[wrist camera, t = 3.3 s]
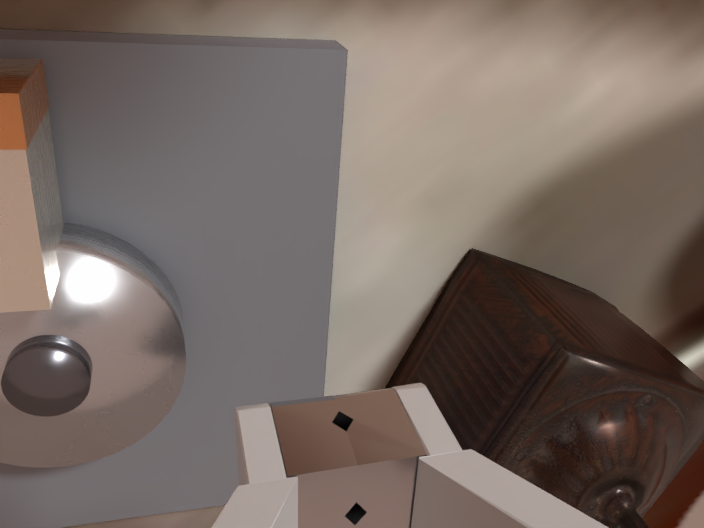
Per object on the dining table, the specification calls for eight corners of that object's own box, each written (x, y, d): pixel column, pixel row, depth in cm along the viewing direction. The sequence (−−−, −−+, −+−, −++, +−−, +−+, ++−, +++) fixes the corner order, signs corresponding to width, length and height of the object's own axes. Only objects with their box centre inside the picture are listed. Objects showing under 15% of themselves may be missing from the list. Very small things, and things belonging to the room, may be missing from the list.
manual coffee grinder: (369, 411, 37) (519, 773, 22) (469, 241, 33) (735, 531, 18) (573, 460, 43) (800, 766, 28) (676, 322, 40) (1001, 587, 24)
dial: (188, 415, 31) (193, 494, 27) (-54, 440, 28) (-90, 532, 24) (171, 61, 24) (174, 95, 20) (-158, 52, 21) (-234, 90, 17)
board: (-369, 15, 21) (-420, 27, 19) (335, 40, 27) (349, 51, 25) (-166, 526, 32) (-186, 565, 30) (309, 465, 38) (317, 494, 36)
